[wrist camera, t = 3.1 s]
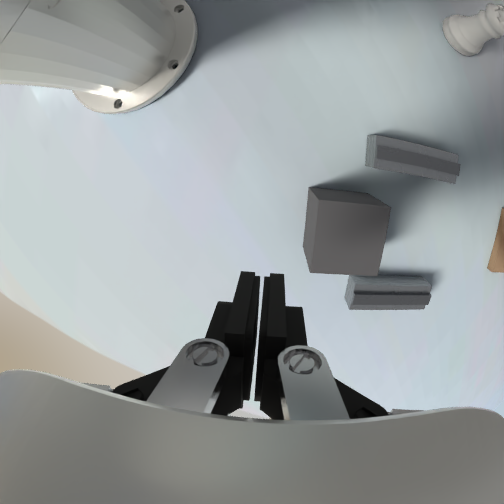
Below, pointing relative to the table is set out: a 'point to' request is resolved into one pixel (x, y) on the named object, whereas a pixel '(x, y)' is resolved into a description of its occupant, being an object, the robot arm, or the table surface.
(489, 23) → the rook chess piece
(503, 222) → the pad
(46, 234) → the table surface
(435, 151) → the metal bars
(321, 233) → the dark gray cube
